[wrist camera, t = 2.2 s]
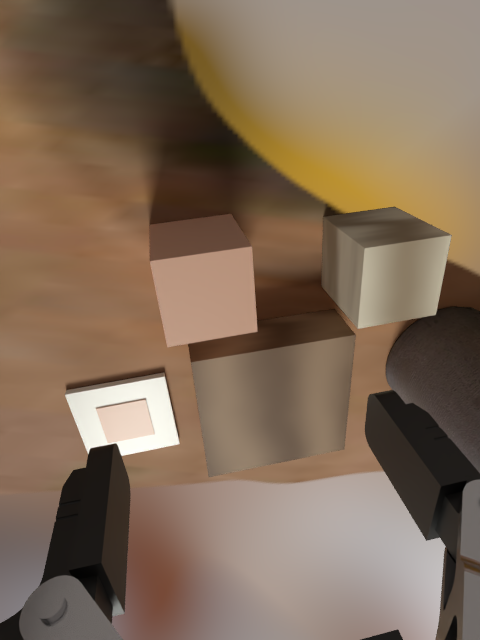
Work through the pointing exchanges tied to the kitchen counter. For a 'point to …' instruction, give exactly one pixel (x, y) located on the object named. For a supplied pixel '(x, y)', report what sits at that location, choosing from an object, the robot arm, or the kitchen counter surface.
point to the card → (125, 414)
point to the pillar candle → (442, 373)
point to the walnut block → (274, 391)
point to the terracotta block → (203, 279)
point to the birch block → (383, 265)
